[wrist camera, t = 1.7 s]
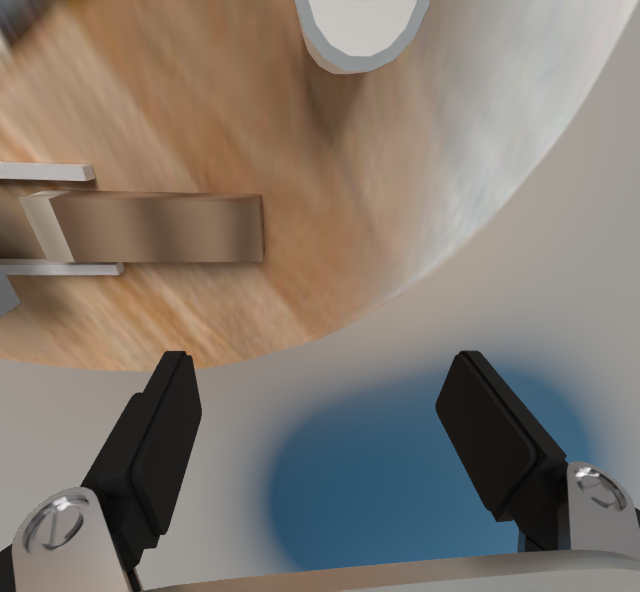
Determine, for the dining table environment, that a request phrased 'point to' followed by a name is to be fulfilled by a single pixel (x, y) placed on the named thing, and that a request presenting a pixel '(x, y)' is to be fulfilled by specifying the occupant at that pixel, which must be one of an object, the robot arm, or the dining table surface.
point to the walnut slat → (146, 226)
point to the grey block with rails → (3, 295)
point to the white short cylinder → (358, 31)
